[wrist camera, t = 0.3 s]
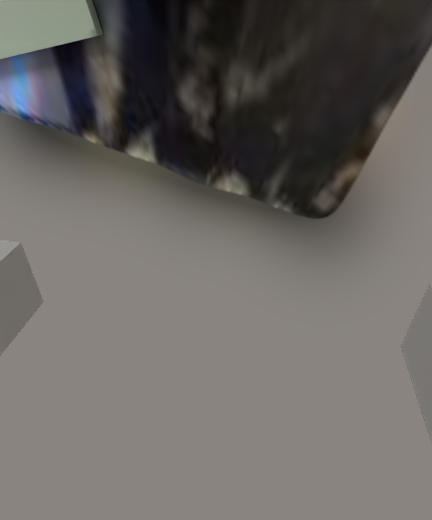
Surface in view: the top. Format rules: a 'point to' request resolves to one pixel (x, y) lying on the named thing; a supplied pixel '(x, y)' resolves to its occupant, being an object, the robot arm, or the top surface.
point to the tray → (44, 24)
